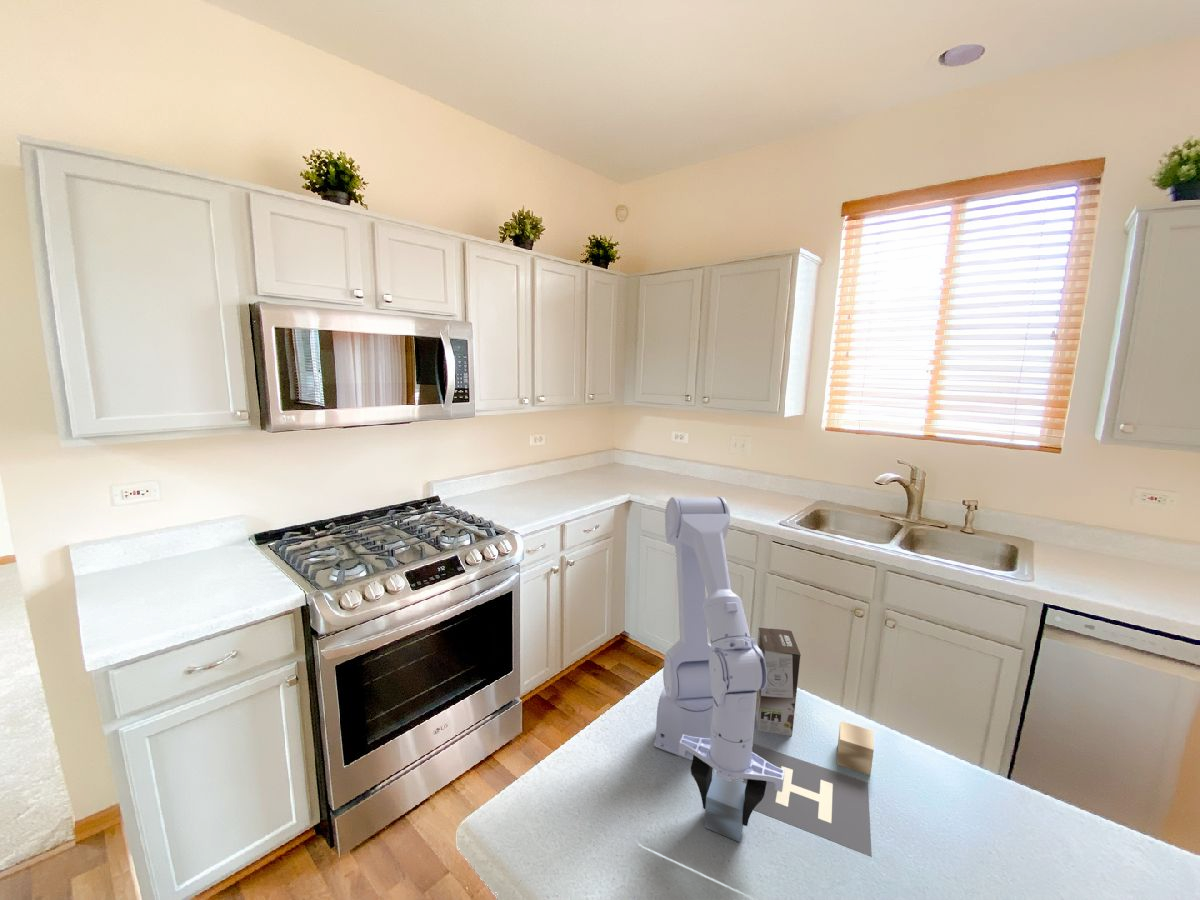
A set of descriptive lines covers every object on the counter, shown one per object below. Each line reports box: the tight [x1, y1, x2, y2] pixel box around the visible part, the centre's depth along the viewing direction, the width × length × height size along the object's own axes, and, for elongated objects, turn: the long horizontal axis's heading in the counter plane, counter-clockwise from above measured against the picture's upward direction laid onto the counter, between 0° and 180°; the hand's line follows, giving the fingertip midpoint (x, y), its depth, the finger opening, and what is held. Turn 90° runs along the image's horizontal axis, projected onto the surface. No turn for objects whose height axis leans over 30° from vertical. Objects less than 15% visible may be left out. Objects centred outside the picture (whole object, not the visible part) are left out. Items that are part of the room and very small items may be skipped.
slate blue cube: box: [703, 771, 746, 843], centre depth 72 cm, size 5×5×5 cm
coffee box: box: [755, 627, 801, 737], centre depth 94 cm, size 9×6×16 cm
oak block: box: [836, 720, 874, 776], centre depth 85 cm, size 5×5×5 cm
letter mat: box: [743, 743, 873, 858], centre depth 78 cm, size 18×14×1 cm
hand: (725, 811), depth 72 cm, fingers closed on slate blue cube, 5 cm apart
